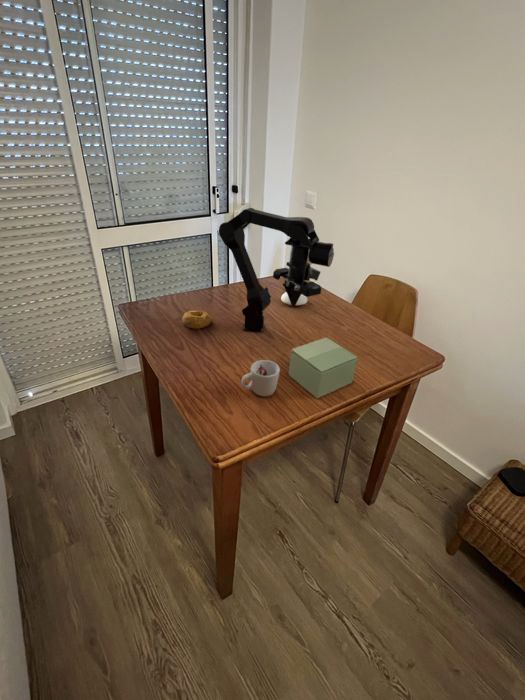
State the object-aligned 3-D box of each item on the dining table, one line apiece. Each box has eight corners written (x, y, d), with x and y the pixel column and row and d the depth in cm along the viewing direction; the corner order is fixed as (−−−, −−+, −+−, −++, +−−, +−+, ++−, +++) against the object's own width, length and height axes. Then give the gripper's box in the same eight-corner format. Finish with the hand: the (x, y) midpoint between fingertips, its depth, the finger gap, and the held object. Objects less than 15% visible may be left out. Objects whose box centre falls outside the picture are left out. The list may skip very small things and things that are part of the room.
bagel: (215, 326, 130) (215, 315, 127) (186, 332, 126) (185, 320, 123) (207, 315, 137) (206, 304, 135) (179, 320, 133) (178, 308, 130)
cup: (246, 405, 94) (247, 381, 90) (236, 387, 100) (236, 364, 96) (282, 396, 98) (284, 373, 94) (270, 379, 104) (272, 357, 100)
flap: (291, 350, 102) (291, 349, 102) (326, 338, 109) (326, 337, 109) (305, 360, 98) (305, 359, 98) (340, 347, 105) (341, 346, 105)
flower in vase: (275, 303, 151) (280, 244, 137) (289, 295, 159) (295, 239, 145) (302, 312, 145) (309, 251, 131) (314, 303, 153) (323, 245, 139)
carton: (288, 374, 107) (291, 349, 102) (322, 361, 114) (326, 337, 109) (317, 398, 98) (321, 371, 93) (351, 382, 105) (357, 357, 100)
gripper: (337, 266, 108) (329, 311, 117) (300, 249, 121) (295, 291, 129) (310, 271, 103) (303, 318, 111) (273, 253, 116) (270, 296, 124)
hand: (293, 305), depth 119 cm, fingers closed
